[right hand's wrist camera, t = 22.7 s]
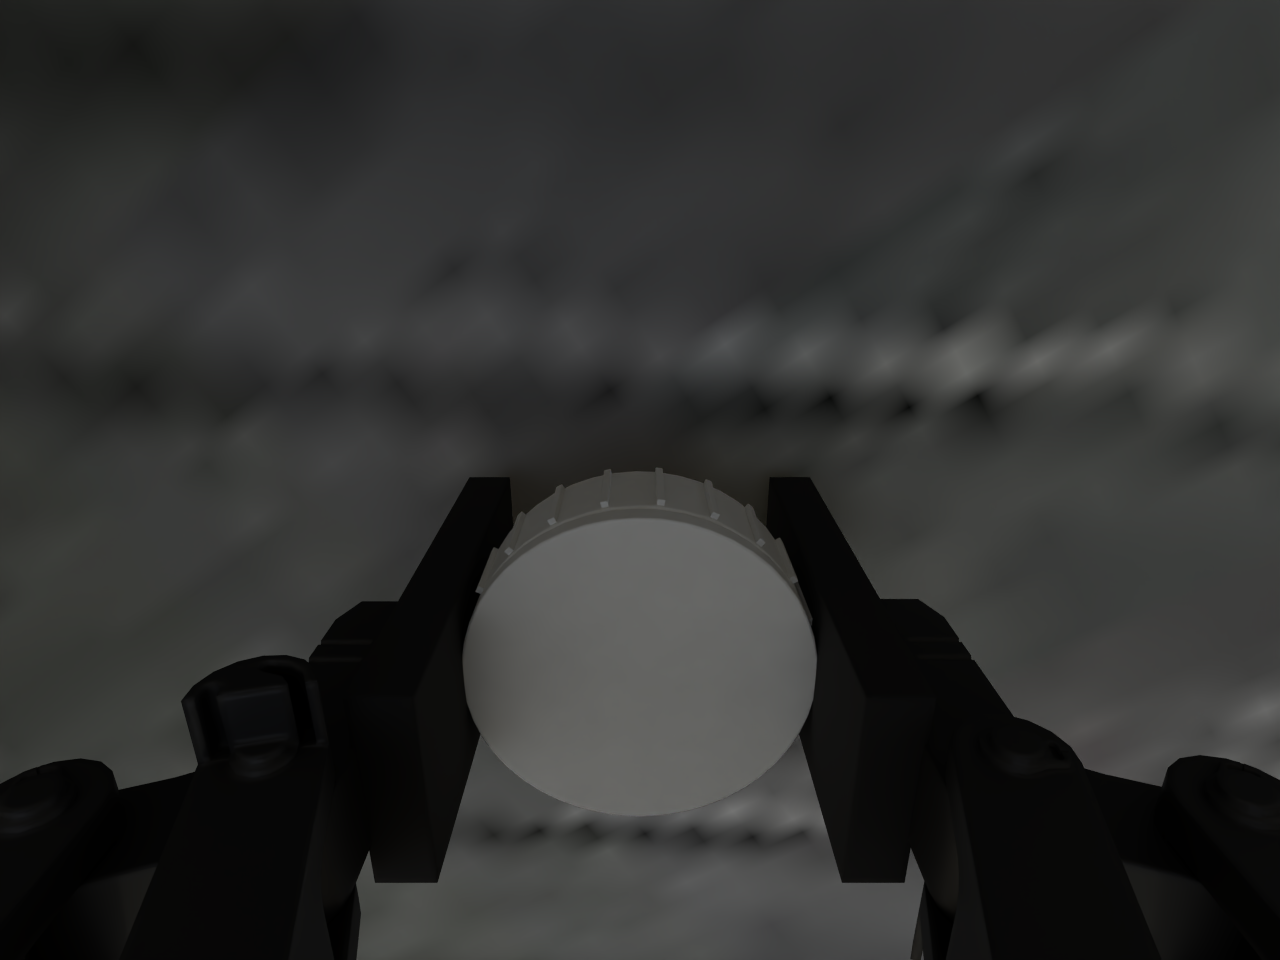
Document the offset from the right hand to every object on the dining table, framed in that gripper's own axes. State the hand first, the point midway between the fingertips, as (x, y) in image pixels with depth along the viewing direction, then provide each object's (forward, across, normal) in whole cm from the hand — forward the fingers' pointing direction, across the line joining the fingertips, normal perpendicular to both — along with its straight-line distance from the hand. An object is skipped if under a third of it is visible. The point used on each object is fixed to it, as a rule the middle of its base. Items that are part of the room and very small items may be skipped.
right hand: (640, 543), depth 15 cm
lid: (-4, 0, 0) cm, 4 cm away
